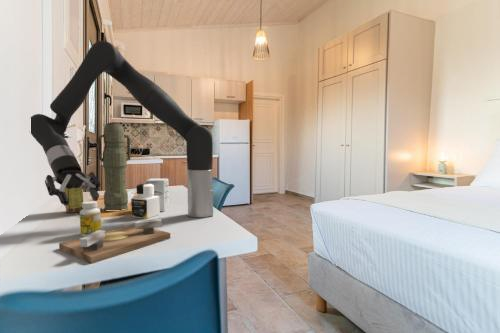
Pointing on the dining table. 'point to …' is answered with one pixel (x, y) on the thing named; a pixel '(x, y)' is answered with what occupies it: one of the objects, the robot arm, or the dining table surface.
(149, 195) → the medicine bottle
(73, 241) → the shaft board
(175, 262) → the dining table surface
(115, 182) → the thermos
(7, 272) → the dining table surface
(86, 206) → the supplement bottle
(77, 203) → the sauce bottle
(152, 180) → the supplement box
